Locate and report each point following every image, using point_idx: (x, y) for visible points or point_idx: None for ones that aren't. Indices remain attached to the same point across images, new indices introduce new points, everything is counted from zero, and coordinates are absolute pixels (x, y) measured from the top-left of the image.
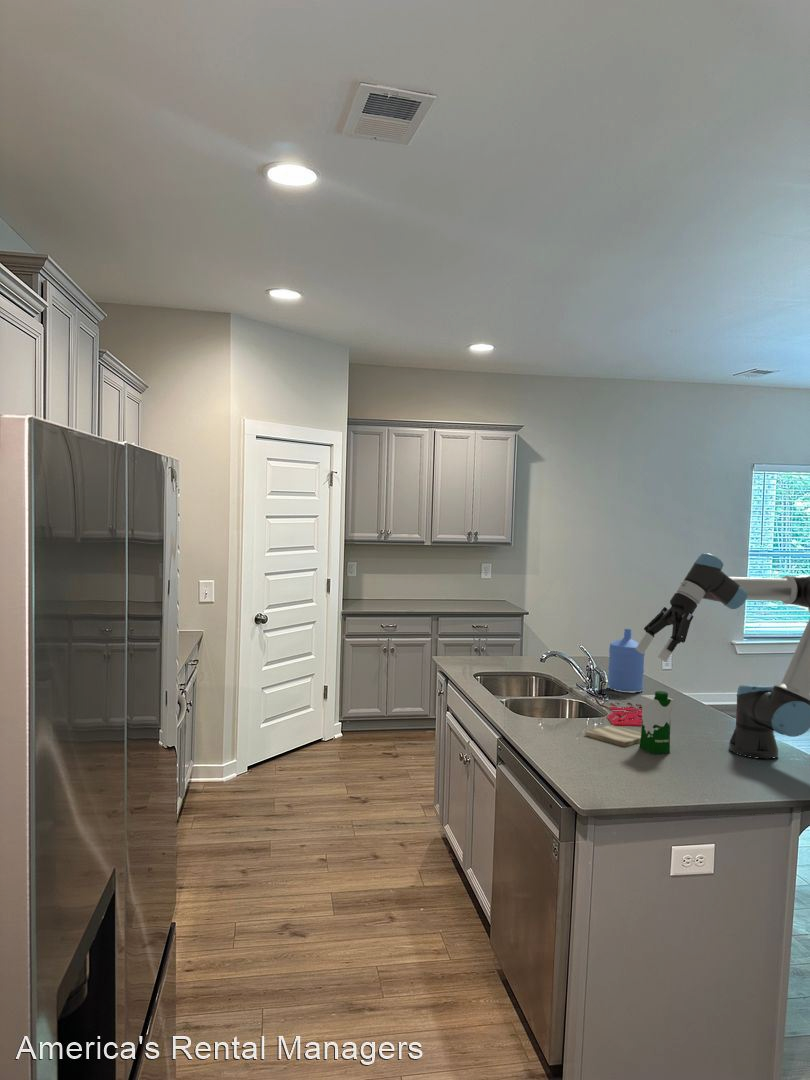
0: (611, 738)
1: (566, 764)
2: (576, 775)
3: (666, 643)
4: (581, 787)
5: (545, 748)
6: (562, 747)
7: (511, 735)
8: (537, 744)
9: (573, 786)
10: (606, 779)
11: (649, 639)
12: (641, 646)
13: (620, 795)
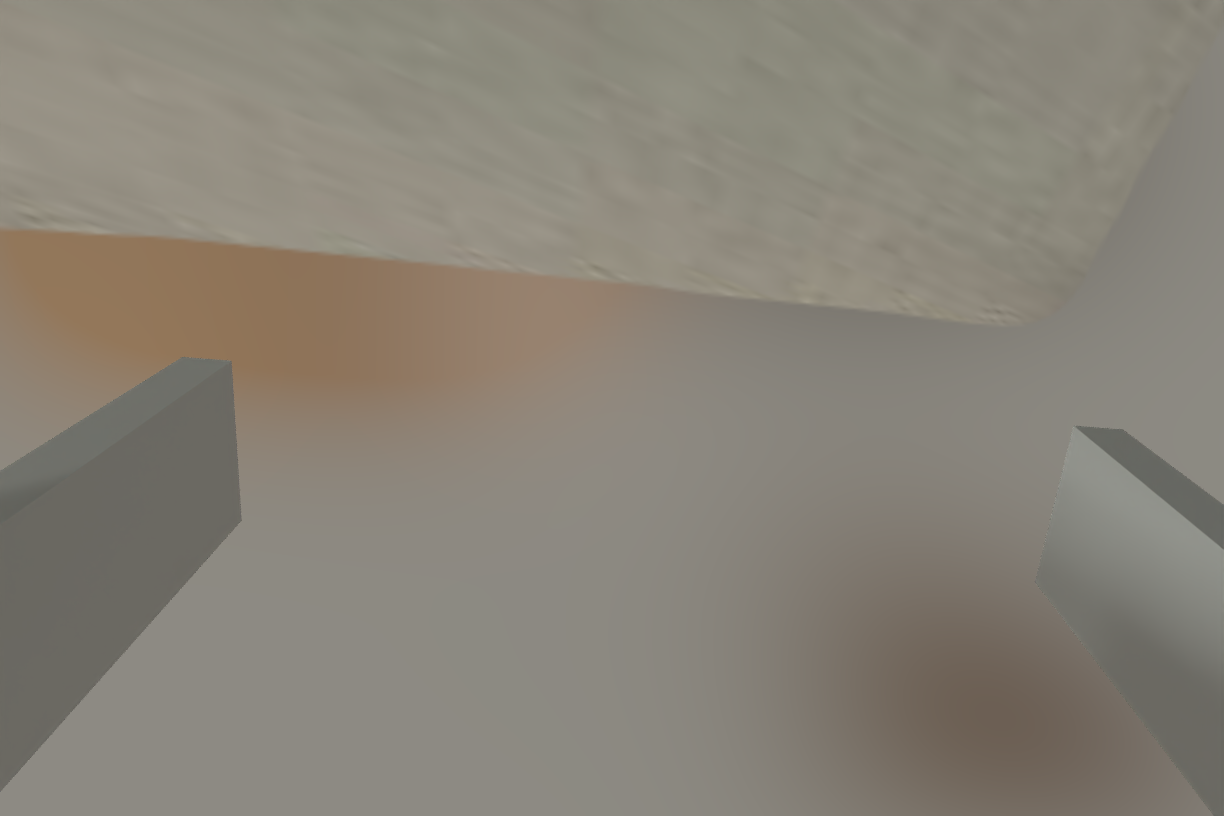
0: None
1: (528, 174)
2: (701, 201)
3: (1203, 788)
4: (859, 248)
5: (242, 161)
6: (195, 61)
7: (23, 229)
8: (169, 170)
9: (835, 271)
10: (795, 91)
11: (47, 581)
12: (186, 522)
13: (1026, 140)
